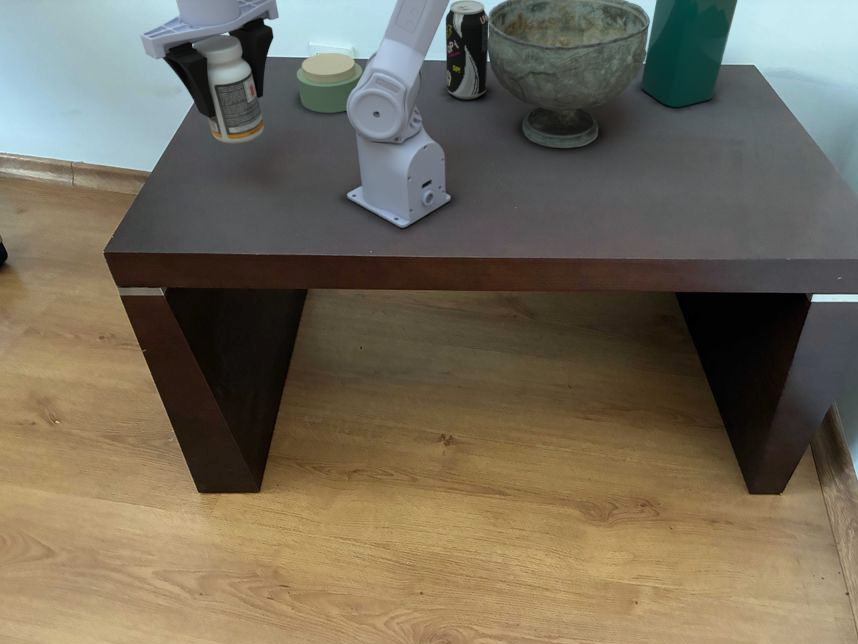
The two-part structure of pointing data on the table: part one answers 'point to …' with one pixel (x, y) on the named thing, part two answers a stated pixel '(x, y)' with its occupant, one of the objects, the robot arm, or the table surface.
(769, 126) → the table surface
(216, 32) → the robot arm
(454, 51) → the beverage can
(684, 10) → the pitcher
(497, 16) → the bowl
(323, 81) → the squat jar
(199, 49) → the pill bottle
